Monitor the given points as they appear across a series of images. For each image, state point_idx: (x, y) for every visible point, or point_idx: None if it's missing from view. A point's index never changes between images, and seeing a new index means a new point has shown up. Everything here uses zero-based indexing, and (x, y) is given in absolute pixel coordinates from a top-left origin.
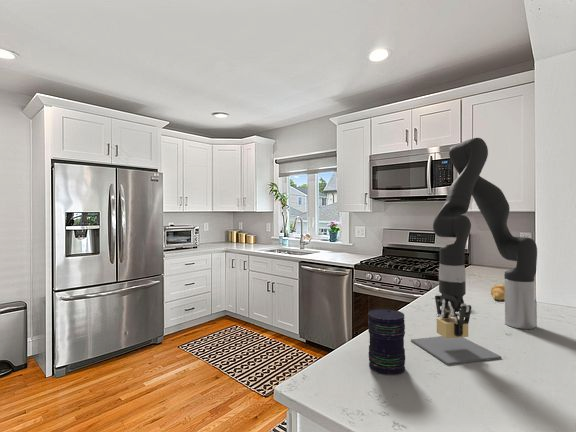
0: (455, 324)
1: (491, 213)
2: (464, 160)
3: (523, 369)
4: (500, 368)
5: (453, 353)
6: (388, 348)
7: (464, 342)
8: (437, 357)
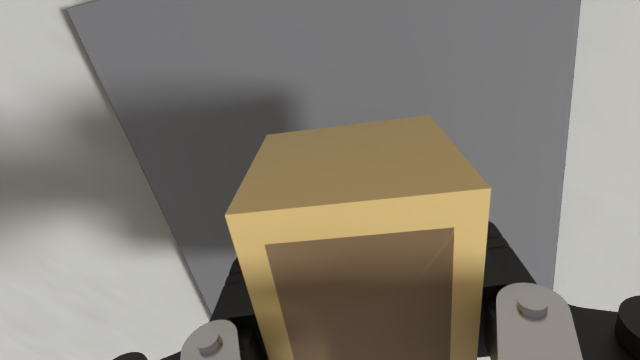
0: (239, 314)
1: None
2: None
3: (124, 348)
4: (112, 277)
5: (244, 135)
6: None
7: None
8: None
